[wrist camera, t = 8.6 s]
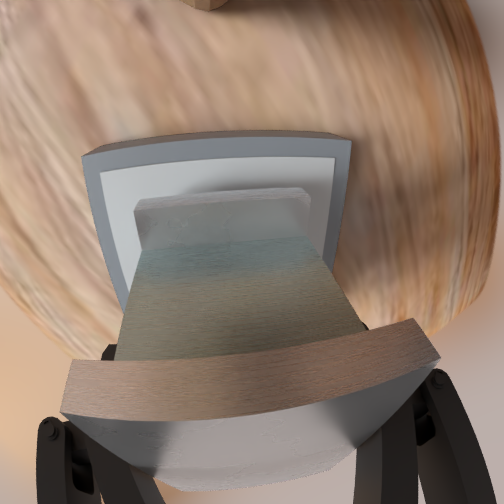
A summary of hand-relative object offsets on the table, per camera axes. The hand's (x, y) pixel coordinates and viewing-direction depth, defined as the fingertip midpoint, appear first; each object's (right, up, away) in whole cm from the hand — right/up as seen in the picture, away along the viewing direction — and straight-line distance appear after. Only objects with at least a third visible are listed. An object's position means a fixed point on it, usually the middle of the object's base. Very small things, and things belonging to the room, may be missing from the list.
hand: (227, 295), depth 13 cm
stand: (-1, +3, +5) cm, 6 cm away
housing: (0, 0, +1) cm, 1 cm away
